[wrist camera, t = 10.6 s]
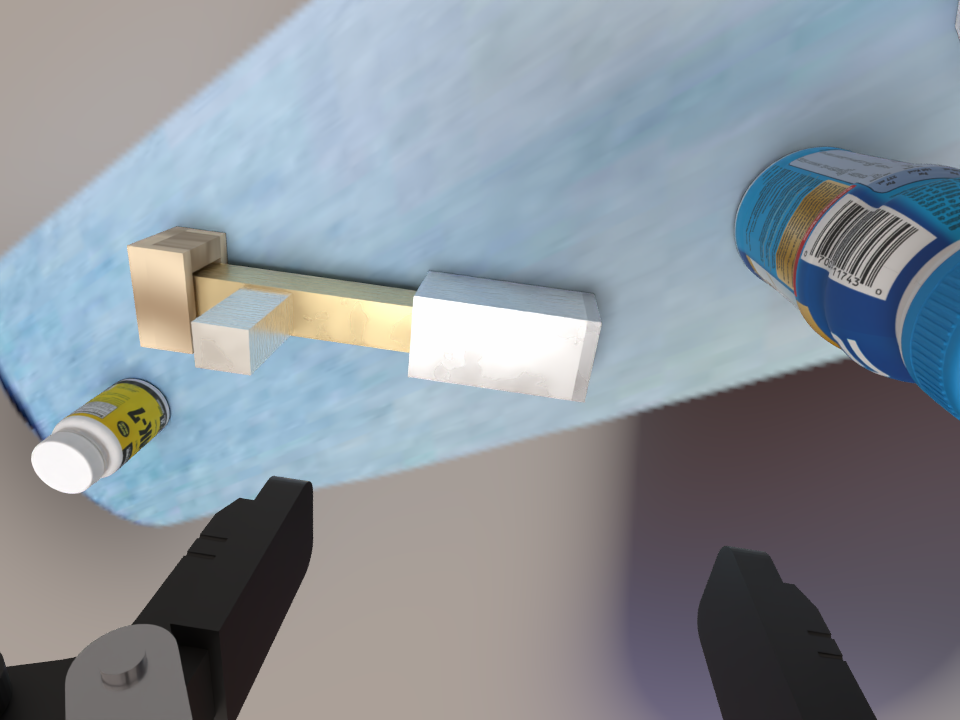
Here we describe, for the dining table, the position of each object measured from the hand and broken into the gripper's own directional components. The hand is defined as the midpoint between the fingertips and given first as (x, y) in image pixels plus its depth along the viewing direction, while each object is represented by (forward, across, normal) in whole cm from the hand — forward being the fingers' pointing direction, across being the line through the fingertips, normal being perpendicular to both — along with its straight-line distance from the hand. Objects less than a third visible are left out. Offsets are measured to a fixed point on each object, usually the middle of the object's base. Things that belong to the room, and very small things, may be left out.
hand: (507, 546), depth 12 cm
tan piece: (+27, +12, +6) cm, 30 cm away
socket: (+28, +21, +6) cm, 36 cm away
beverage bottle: (+28, -16, -3) cm, 33 cm away
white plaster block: (+28, +1, +6) cm, 29 cm away
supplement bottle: (+28, +27, +17) cm, 43 cm away
